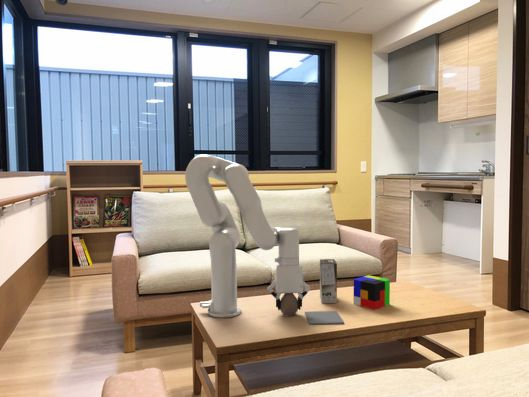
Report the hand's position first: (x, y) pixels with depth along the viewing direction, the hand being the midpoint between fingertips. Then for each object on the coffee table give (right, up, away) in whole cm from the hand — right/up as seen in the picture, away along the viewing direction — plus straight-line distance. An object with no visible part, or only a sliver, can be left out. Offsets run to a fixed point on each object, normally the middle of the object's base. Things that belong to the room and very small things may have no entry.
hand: (289, 308), depth 156 cm
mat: (+12, -2, -4) cm, 13 cm away
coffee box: (+17, -1, +18) cm, 25 cm away
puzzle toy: (+33, -2, +12) cm, 36 cm away
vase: (0, -2, 0) cm, 3 cm away
